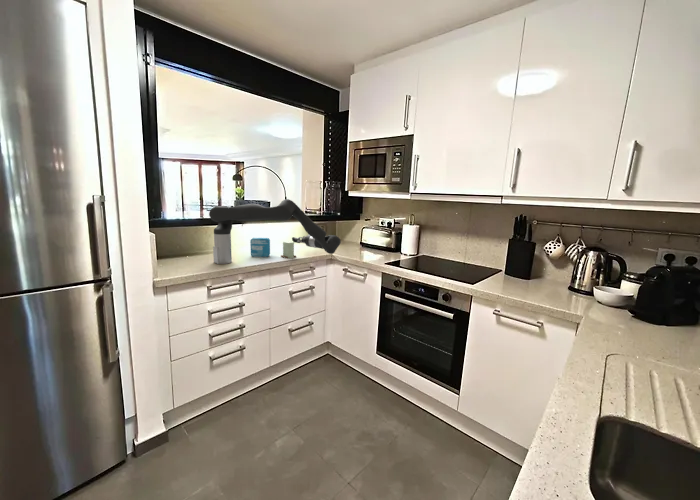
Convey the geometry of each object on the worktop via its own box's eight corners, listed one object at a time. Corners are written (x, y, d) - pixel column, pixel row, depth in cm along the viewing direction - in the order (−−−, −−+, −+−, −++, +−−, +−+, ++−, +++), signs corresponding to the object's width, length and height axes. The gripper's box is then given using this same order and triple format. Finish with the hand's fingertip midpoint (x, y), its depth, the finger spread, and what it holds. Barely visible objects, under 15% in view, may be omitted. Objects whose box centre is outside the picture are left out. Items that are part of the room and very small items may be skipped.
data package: (250, 256, 204) (250, 238, 202) (251, 255, 209) (251, 237, 207) (269, 256, 206) (269, 238, 204) (270, 255, 210) (269, 237, 208)
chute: (286, 258, 202) (286, 257, 202) (280, 256, 207) (280, 255, 207) (296, 257, 207) (296, 255, 207) (290, 255, 212) (290, 254, 212)
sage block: (288, 258, 203) (288, 243, 202) (283, 256, 207) (283, 241, 206) (293, 257, 206) (293, 242, 205) (288, 256, 211) (288, 241, 209)
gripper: (323, 234, 190) (307, 231, 201) (304, 235, 180) (288, 233, 191) (323, 246, 191) (307, 243, 203) (304, 248, 181) (288, 245, 193)
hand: (298, 238), depth 197 cm, fingers open, 8 cm apart
